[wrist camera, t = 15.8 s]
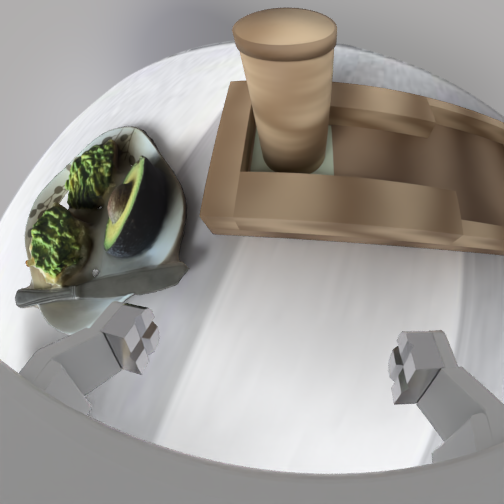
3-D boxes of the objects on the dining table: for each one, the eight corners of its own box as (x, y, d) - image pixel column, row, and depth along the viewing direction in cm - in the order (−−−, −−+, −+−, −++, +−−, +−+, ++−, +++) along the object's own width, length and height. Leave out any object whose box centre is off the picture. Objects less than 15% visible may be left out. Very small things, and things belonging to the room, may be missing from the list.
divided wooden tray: (501, 144, 17) (514, 127, 14) (531, 258, 14) (552, 247, 11) (237, 106, 22) (230, 81, 19) (213, 234, 19) (199, 216, 16)
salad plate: (54, 383, 17) (16, 385, 13) (16, 232, 23) (-11, 217, 19) (231, 258, 18) (211, 234, 14) (140, 119, 24) (119, 89, 20)
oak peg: (325, 128, 19) (331, 9, 9) (327, 180, 17) (343, 48, 8) (263, 127, 19) (240, 10, 10) (257, 177, 18) (223, 49, 9)
